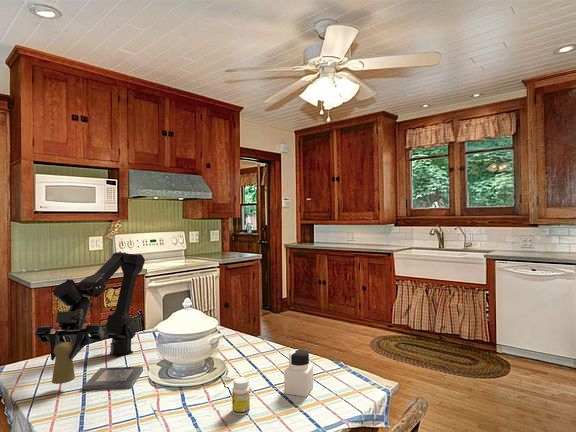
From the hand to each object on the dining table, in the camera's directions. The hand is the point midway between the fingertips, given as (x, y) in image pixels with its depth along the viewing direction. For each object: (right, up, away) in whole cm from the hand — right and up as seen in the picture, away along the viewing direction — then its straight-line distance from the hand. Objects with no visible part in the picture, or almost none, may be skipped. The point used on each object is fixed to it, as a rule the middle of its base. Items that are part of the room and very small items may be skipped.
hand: (61, 359), depth 113 cm
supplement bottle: (+55, -10, -11) cm, 57 cm away
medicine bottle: (+71, -10, +2) cm, 72 cm away
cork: (0, -7, +1) cm, 7 cm away
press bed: (+12, -10, +9) cm, 18 cm away
